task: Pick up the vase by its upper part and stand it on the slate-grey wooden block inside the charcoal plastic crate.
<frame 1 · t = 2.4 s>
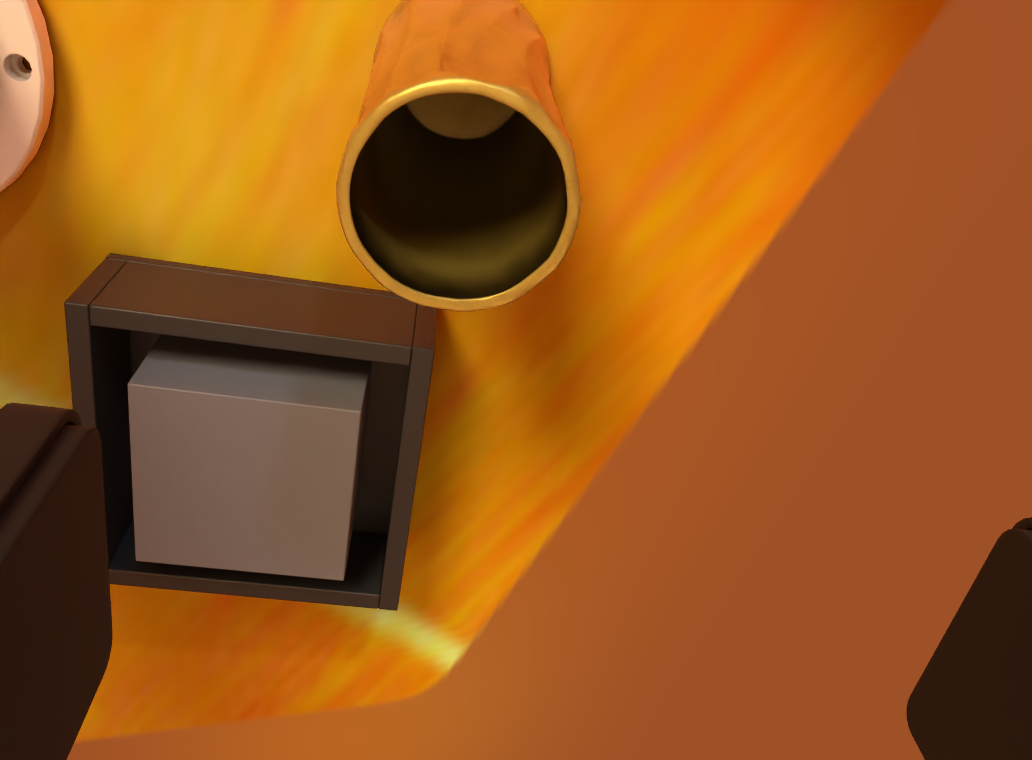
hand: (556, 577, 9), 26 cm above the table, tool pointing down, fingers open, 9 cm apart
crate: (271, 411, 38), on the table
vase: (461, 71, 31), on the table
block: (269, 418, 37), resting on crate
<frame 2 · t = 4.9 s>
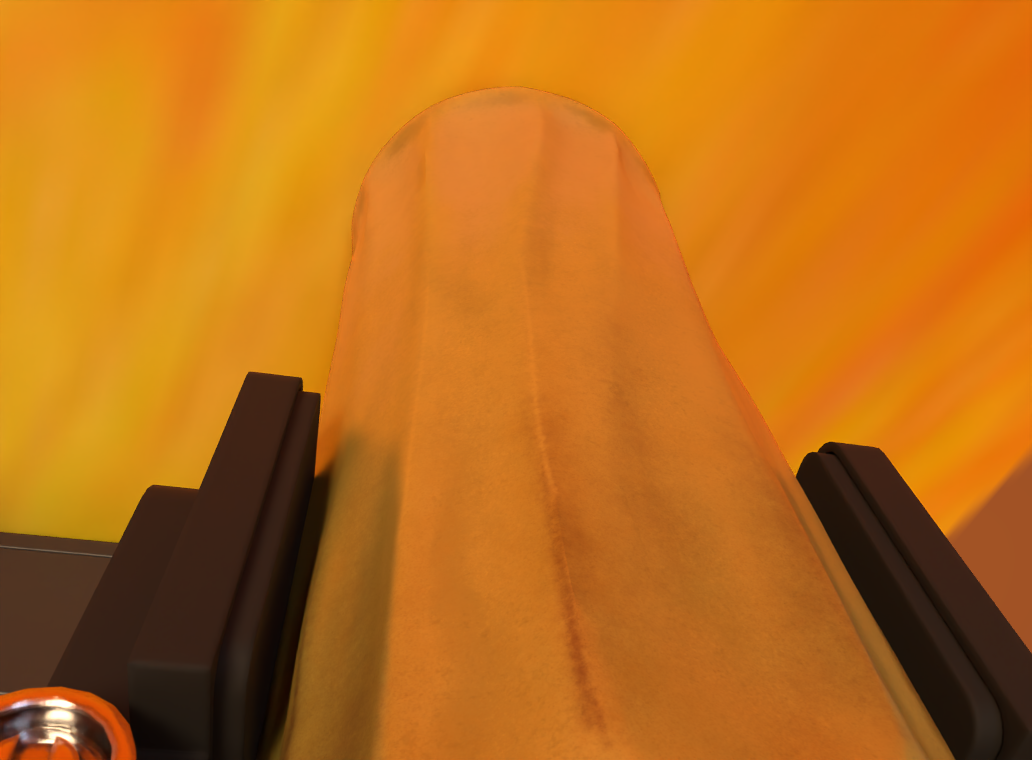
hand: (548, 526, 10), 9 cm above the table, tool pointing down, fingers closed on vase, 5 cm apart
crate: (196, 728, 24), on the table
vase: (507, 238, 18), on the table, touching gripper
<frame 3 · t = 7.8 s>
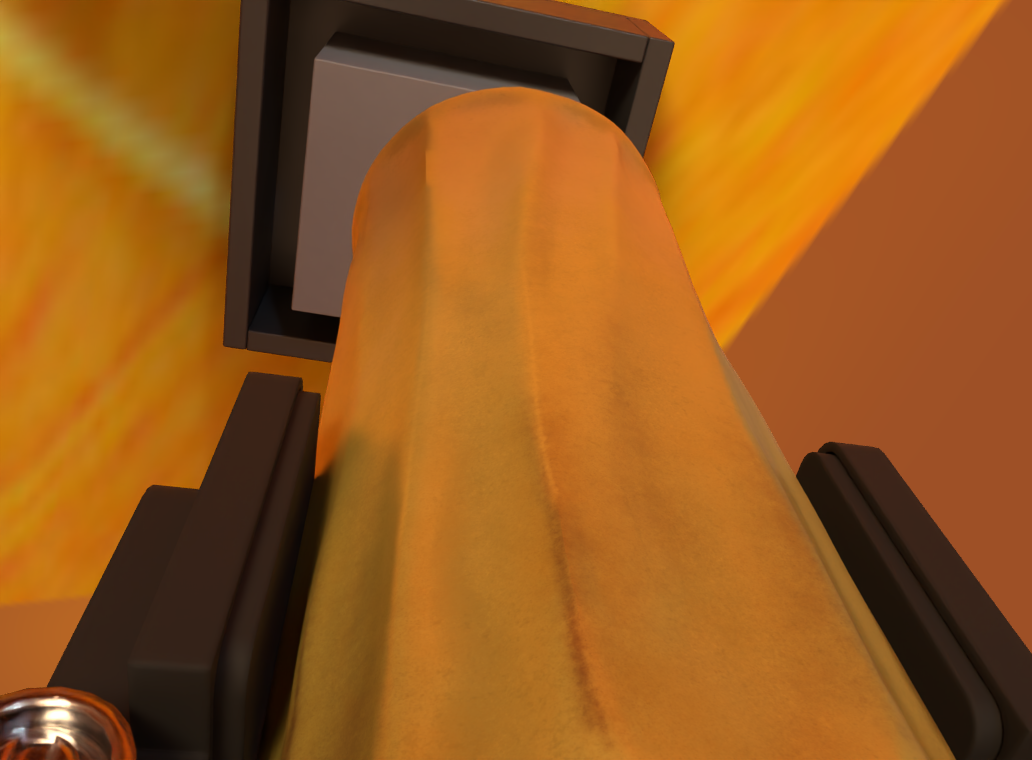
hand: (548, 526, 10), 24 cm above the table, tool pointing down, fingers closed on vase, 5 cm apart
crate: (435, 165, 32), on the table
vase: (507, 239, 18), point 15 cm above the table, touching gripper
block: (435, 169, 32), resting on crate
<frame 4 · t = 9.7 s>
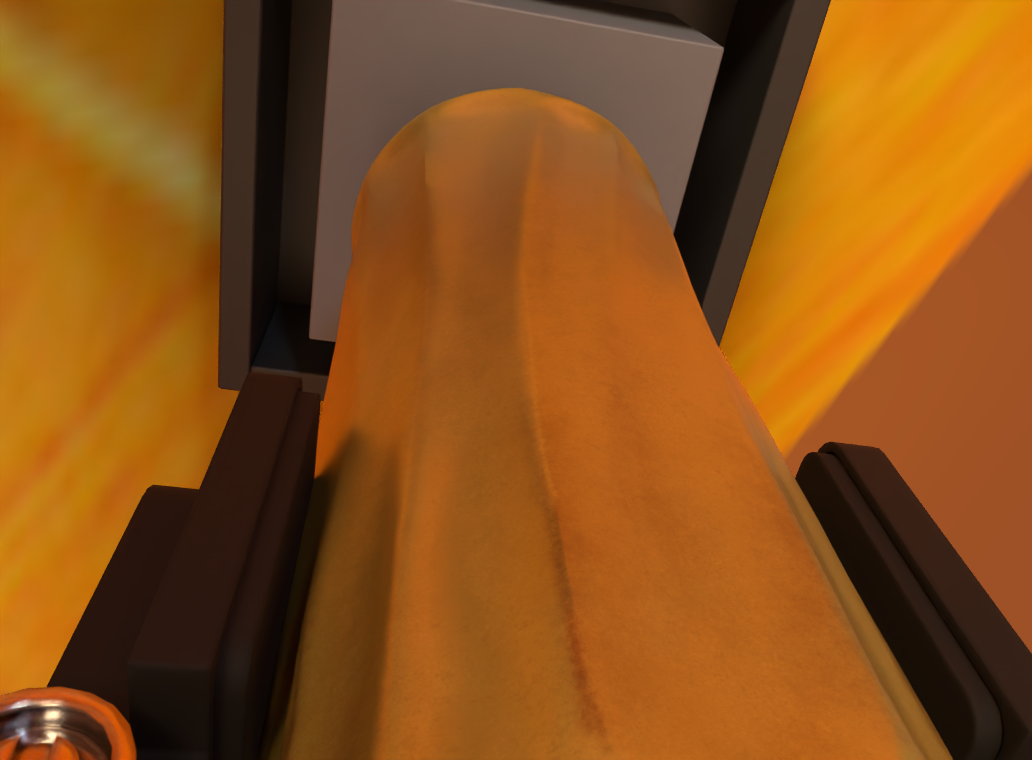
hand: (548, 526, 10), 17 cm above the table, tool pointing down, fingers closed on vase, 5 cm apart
crate: (493, 139, 24), on the table
vase: (507, 240, 18), point 8 cm above the table, touching gripper
block: (494, 144, 24), resting on crate
when the fingers open (14 cm above the table, at t = 10.8 s): vase stays where it is, resting on block.
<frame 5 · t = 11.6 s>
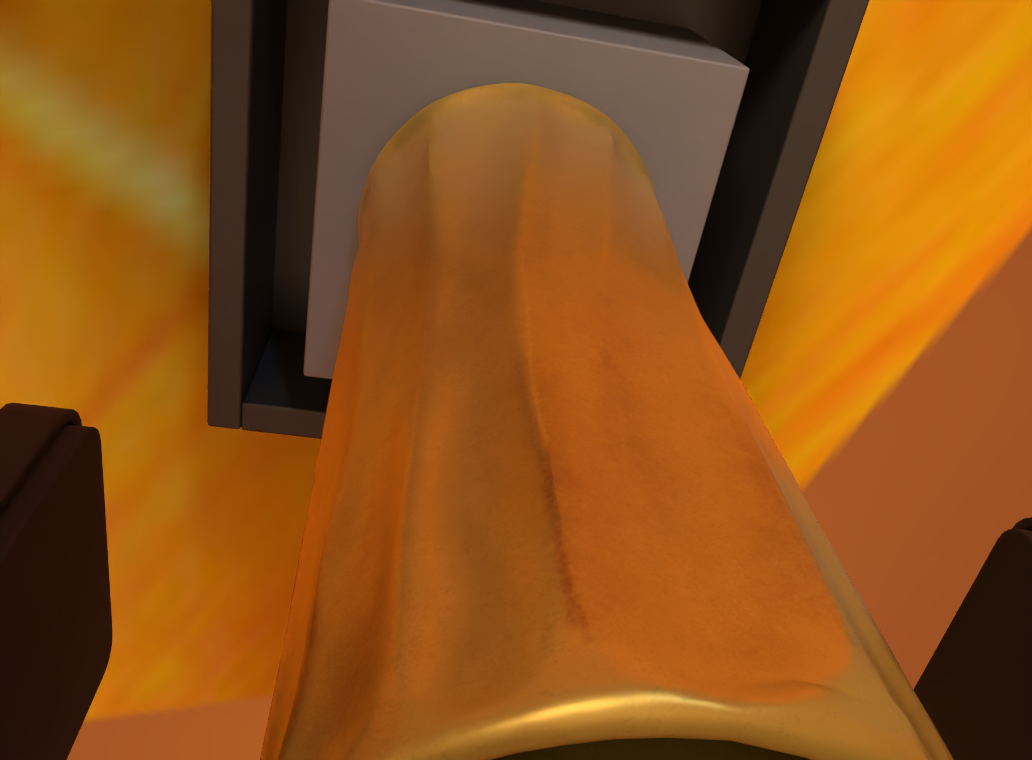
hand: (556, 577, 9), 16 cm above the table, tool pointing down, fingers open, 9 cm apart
crate: (499, 160, 23), on the table
vase: (507, 229, 19), point 5 cm above the table, touching block
block: (500, 165, 23), resting on crate, touching vase
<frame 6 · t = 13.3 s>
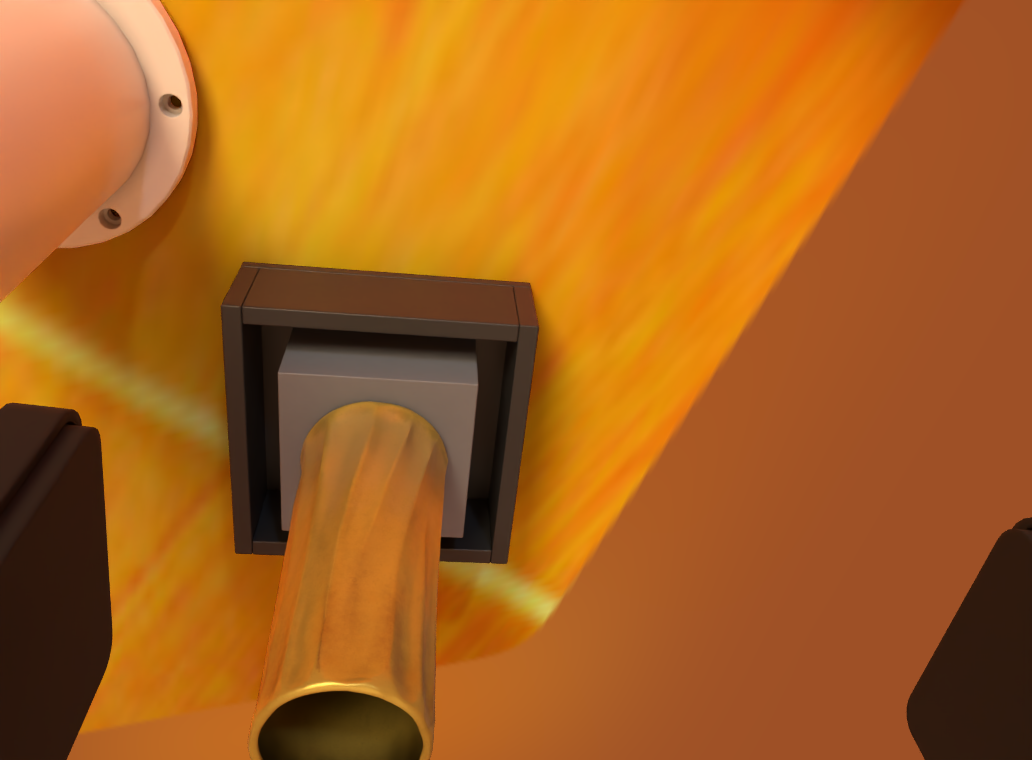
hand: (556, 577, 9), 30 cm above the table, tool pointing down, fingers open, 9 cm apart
crate: (383, 394, 42), on the table
vase: (375, 457, 38), point 5 cm above the table, touching block
block: (383, 400, 42), resting on crate, touching vase
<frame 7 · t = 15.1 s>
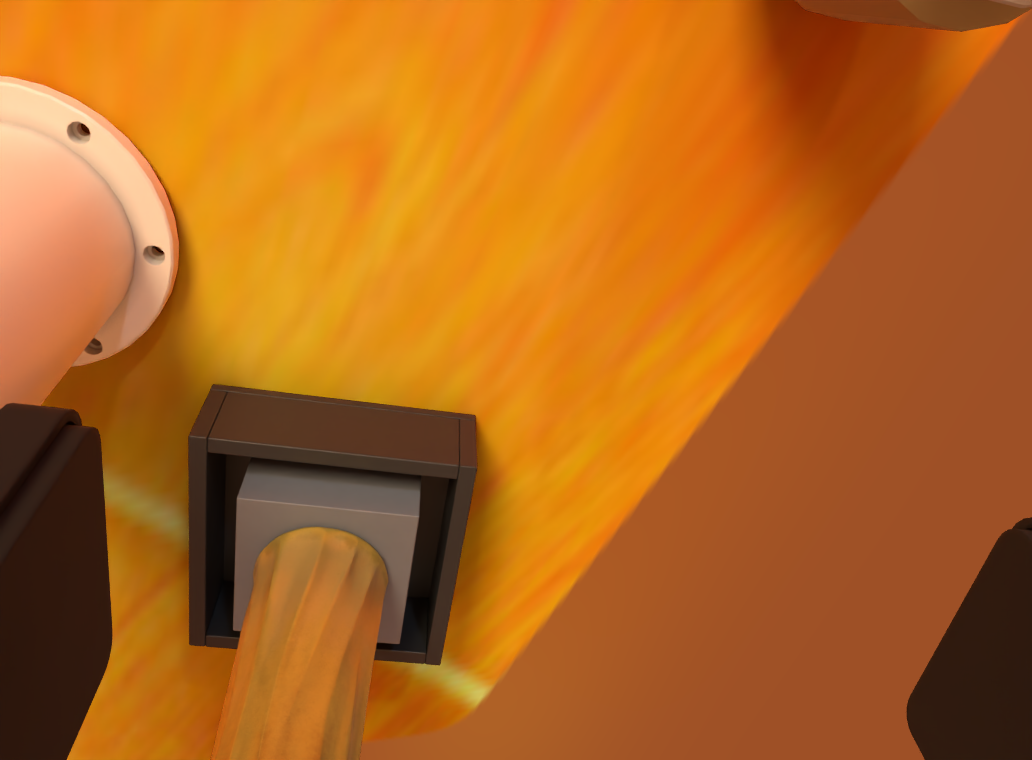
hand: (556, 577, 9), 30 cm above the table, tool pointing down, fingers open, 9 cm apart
crate: (336, 502, 46), on the table
vase: (322, 572, 41), point 5 cm above the table, touching block
block: (335, 508, 46), resting on crate, touching vase
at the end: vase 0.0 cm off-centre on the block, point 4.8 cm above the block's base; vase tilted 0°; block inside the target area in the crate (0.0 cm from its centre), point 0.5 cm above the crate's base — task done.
